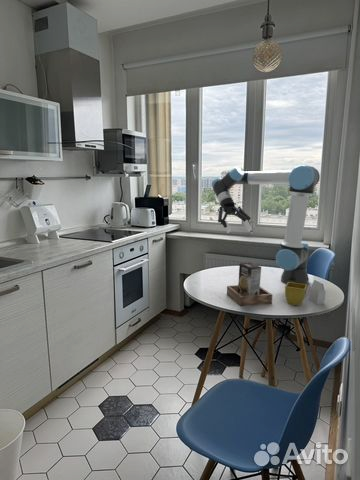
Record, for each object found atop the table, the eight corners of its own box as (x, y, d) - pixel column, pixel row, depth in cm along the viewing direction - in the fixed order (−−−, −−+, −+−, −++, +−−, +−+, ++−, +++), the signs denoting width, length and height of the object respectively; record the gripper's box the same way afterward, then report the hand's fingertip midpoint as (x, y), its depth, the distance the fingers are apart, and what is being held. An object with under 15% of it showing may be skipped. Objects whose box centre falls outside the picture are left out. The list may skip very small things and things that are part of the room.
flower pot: (286, 298, 161) (288, 281, 159) (305, 302, 157) (307, 284, 155) (283, 304, 153) (285, 286, 151) (303, 308, 149) (305, 289, 147)
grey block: (317, 304, 154) (319, 284, 152) (309, 299, 161) (311, 279, 159) (324, 304, 155) (326, 283, 153) (315, 298, 161) (317, 279, 160)
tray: (255, 292, 169) (256, 283, 168) (271, 303, 154) (272, 294, 153) (226, 294, 165) (227, 285, 164) (240, 306, 150) (240, 297, 149)
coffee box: (237, 294, 162) (238, 263, 159) (247, 293, 165) (249, 261, 162) (248, 301, 154) (250, 267, 151) (259, 299, 157) (261, 266, 154)
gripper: (241, 205, 195) (255, 234, 185) (204, 205, 185) (217, 236, 174) (246, 196, 190) (261, 226, 179) (209, 197, 179) (223, 228, 169)
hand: (239, 231), depth 177 cm, fingers open, 13 cm apart
